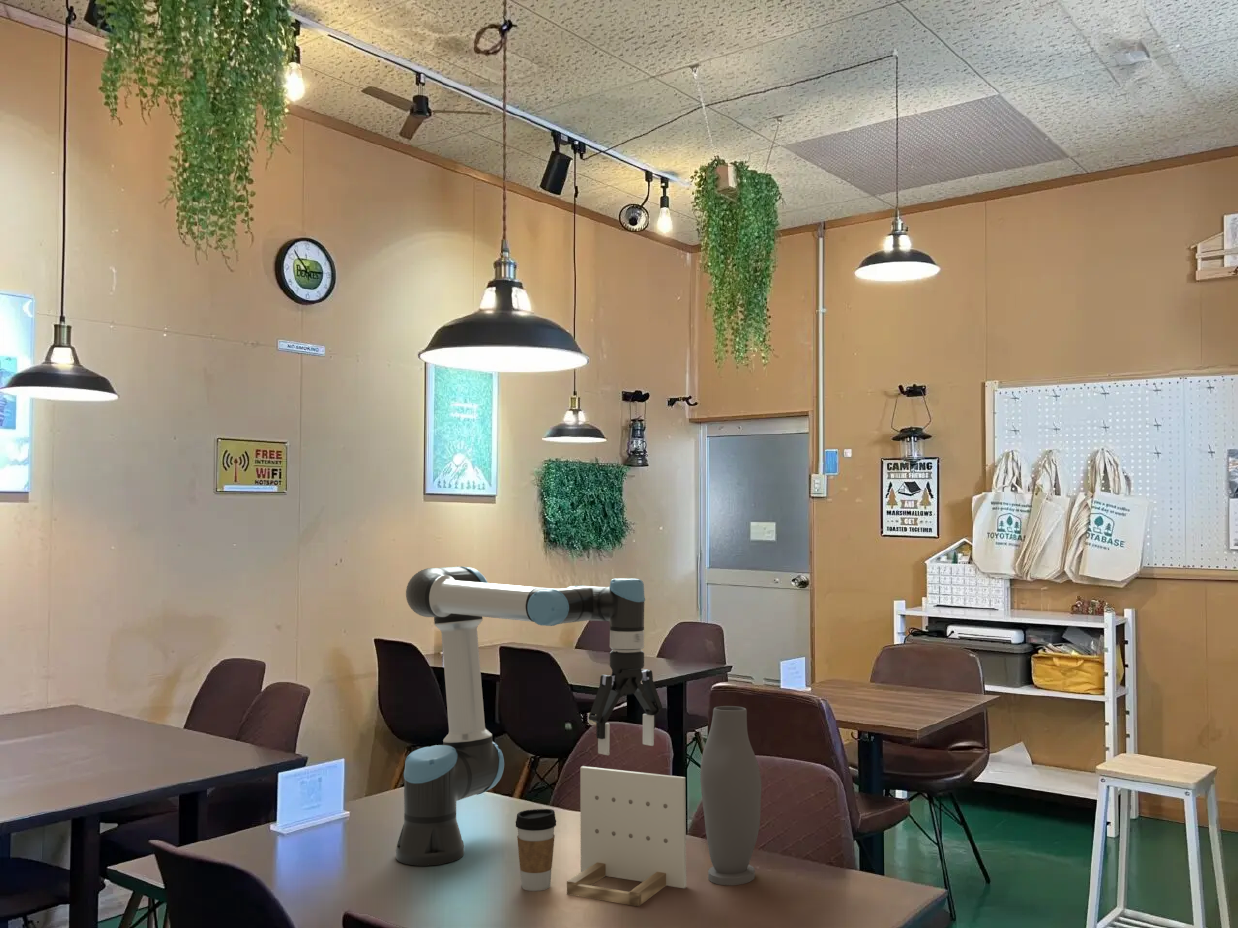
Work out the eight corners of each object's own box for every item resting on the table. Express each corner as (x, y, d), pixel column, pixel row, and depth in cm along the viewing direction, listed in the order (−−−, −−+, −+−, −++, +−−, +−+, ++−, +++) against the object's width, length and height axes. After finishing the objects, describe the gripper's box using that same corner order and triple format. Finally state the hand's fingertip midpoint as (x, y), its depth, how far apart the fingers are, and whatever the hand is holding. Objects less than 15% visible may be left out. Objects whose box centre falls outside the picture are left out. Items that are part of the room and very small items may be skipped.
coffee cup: (550, 894, 205) (550, 818, 206) (509, 891, 207) (510, 816, 208) (561, 880, 213) (560, 807, 215) (522, 878, 215) (522, 805, 216)
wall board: (580, 871, 219) (580, 767, 221) (583, 869, 220) (583, 766, 222) (684, 888, 208) (682, 778, 210) (686, 886, 210) (685, 777, 211)
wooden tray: (566, 893, 206) (566, 881, 206) (597, 874, 217) (597, 862, 217) (638, 906, 198) (638, 892, 199) (666, 885, 210) (666, 872, 210)
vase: (744, 891, 206) (743, 714, 210) (688, 880, 213) (687, 709, 216) (771, 874, 217) (769, 706, 221) (716, 864, 224) (715, 702, 228)
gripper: (597, 656, 210) (596, 760, 209) (678, 647, 228) (678, 743, 227) (572, 652, 216) (571, 755, 214) (653, 644, 233) (653, 738, 232)
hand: (626, 749), depth 221 cm, fingers open, 13 cm apart
